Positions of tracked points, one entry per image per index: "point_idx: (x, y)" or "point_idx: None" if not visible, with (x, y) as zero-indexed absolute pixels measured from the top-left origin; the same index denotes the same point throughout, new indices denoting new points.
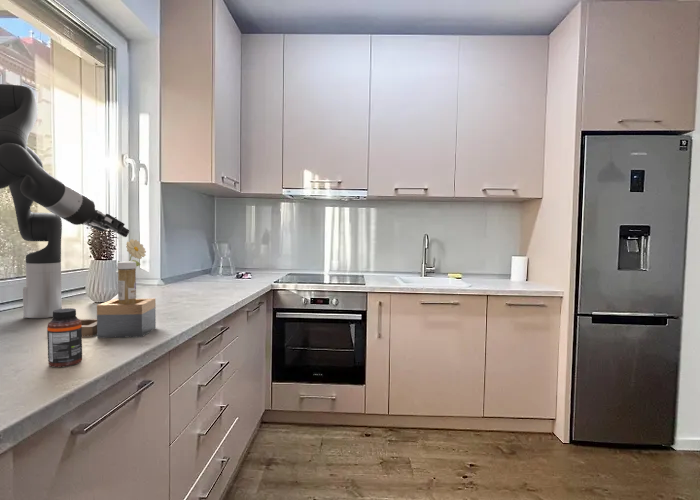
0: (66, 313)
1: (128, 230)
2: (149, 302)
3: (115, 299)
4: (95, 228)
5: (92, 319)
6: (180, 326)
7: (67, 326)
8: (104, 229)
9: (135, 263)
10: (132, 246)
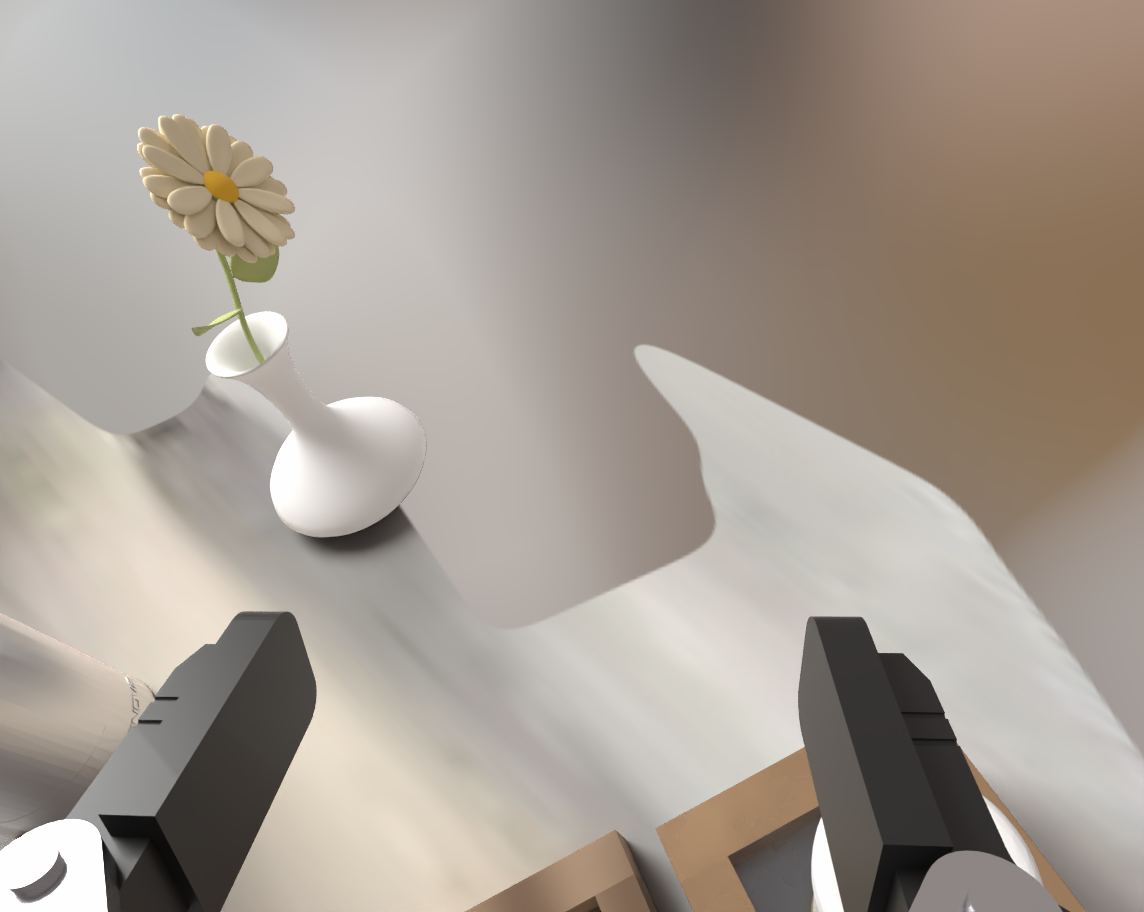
0: None
1: (863, 632)
2: (1014, 822)
3: (692, 858)
4: (238, 848)
5: (537, 904)
6: (983, 653)
7: None
8: (305, 659)
9: (1019, 835)
10: (195, 188)
